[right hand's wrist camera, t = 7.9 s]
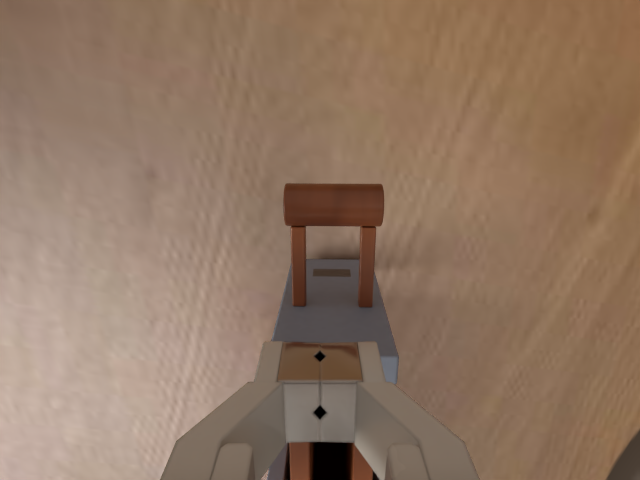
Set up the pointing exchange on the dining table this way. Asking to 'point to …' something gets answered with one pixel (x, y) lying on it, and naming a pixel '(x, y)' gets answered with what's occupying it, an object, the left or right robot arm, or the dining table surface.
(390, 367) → the drawer
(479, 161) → the dining table surface
